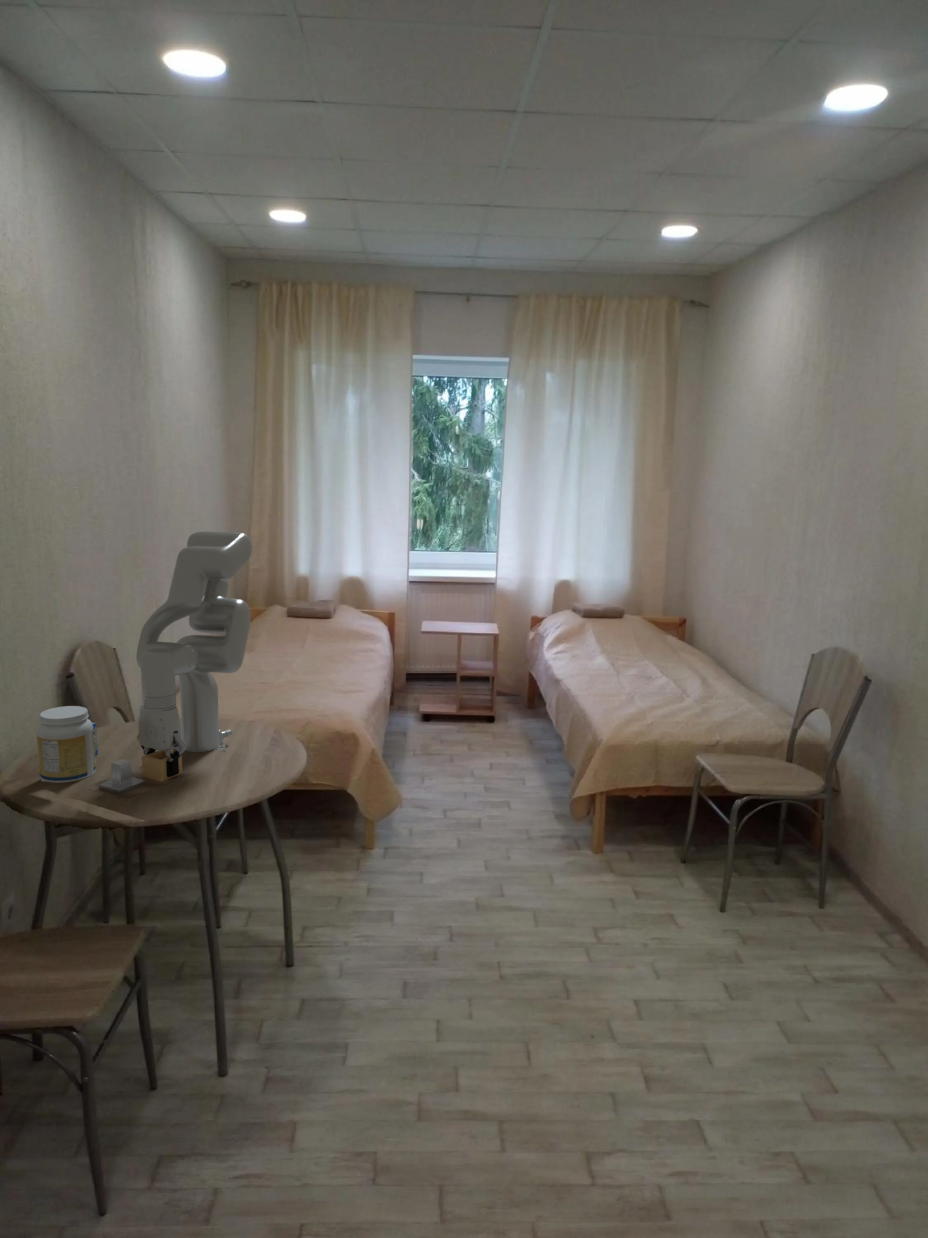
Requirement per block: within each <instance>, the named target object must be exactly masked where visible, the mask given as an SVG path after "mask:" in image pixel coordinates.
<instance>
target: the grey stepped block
mask: <svg viewBox="0 0 928 1238" xmlns="http://www.w3.org/2000/svg"><path fill="white" fill-rule="evenodd" d="M110 763H111V767H110V768H111V777H112V780H109V781H106V782H104V783H101V784H99V789H102V790H106V791H109V792H112V793H116V794H119V795H121V794H123V793H126V792H129V791H131V790H134V789H136V788H139V787H141V786H144V785H146V781H145V780H142V779H138V778H135V777H132V771H131V770H132V761H131V760H127V759H123V758H121V759H118V760H115V761H111V762H110Z"/></svg>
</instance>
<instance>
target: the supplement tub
mask: <svg viewBox="0 0 928 1238" xmlns="http://www.w3.org/2000/svg"><path fill="white" fill-rule="evenodd" d="M89 716H90V715H89V713H88V708H87V707H83V706H80V705H66V706H57V707H53V708H48V709H46V710H43V711H42V712H40V714H39V723H40V724H39V725H38V726H37V730H36V739H37V754H38V764H39V766H38V767H39V774H40V775H39V777H40V778H39V779H40V780H41V782H42V783H45V782H47V783H59V784H60V783H71V782H75V781H76V782H77V781H80V780H83V779H86V778H89V777H91V776H93V775H94V774H95V773H96V772H97V769H96V755H95V751H94V736H93V724H92V723H93V722H92V721H91V720H90V719H89Z"/></svg>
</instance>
